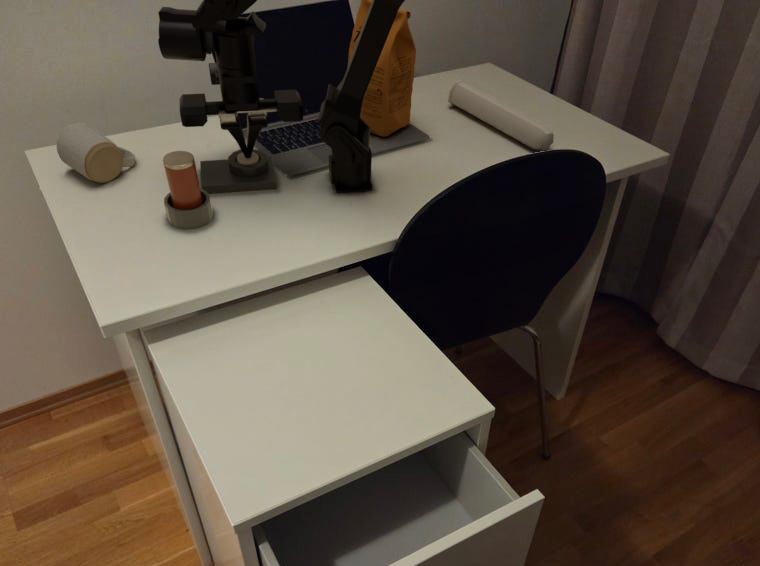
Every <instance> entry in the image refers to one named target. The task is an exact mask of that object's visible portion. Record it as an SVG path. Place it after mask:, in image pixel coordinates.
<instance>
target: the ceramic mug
mask: <svg viewBox="0 0 760 566" xmlns="http://www.w3.org/2000/svg"><path fill="white" fill-rule="evenodd" d="M56 153H57V155H58V157H59V159H60V160H61V161H62V162H63V163H64V164H65V165H66V166H68V167H70V168H71V169H73V170H74V171H75V172H77V173H79V174H81V175H82V176H84V177H85V178H86V179H87V180H90V181H92V182H95V183H100V184H101V183H102V184H104V183H109V182H111V181H113V180H114V179H116V178H117V177H118V176H119V175H120V173H121V172H122V170H123V168H131V167H134V166H135V164H136V155H135V154H134V153H133V152H131V151H130V150H128V149H126V148H123V147H120V146H117V144H116V143H114V141H112V140H111V139H110V138H108V137H107V136H105V135H104V134H103V133H102V132H100V130H97V129H96V128H95V127H94V126H92V125H90V124H88V123H84V122H74V123H70V124H68V125H67V126H65V127H64V128H63V129H62V130H61V131H60V133H59V134H58V137H57V140H56Z"/></svg>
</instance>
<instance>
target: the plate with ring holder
mask: <svg viewBox="0 0 760 566" xmlns="http://www.w3.org/2000/svg"><path fill="white" fill-rule="evenodd" d="M253 152H254V153H256V154H258V156H259V162H258V163H256V164H253V165H242V164H239V163H238V162H237V156H238V155H239V154H240V153H242V150H241V149H238V150H235V151H232V152H231V154H230V155H228V157H227V159H211V160H200V161H199V166H200V188H201V189H202V190H205V191H206V192H207V193H208V194H209V195H216V194H217V195H218V194H229V193H230V194H231V193H244V192H255V191H256V192H258V191H272V190H277V181H276V176H275V170H274V164H273V160H272V159H273V158H272V156H268V154H266V153H265V152H264V151H263V150H259V149H255V148H253Z"/></svg>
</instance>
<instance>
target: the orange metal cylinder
mask: <svg viewBox="0 0 760 566" xmlns="http://www.w3.org/2000/svg"><path fill="white" fill-rule="evenodd" d="M162 163H163V167H164V173H165V175H166V180H167V185H168V189H169V193H171V198H172V202H173V206H174V208H175V209H178V210H192V209H195V208H198V207H200V206H202V205H203V202H202V196H201V191H200V189H201V185H200V181H199V176H198V170H197V165H196V160H195V156H194V154H192V153H191V152H189V151H186V150H175V151H170V152H168V153H166V154H164V156H163V158H162Z"/></svg>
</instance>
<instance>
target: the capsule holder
mask: <svg viewBox="0 0 760 566" xmlns="http://www.w3.org/2000/svg"><path fill="white" fill-rule="evenodd" d="M200 191H201V196H202V202H203V205H202V206H200V207H198V208H195V209H192V210H178V209H175V208H174V206H173V202H172V198H171V193H170V192H168V193H167V194H166V195H165V197H164V198H163V206H164V209H165V214H166V217H167V221H168V222H169V223H170V225H172V226H173V227H174V228H177V229H181V230H194V229H199V228H203V227H204V226H206V225H208V224H209V223H210V222H211V221H212V219H213V217H214V213H213V212H214V211H213V207H212V200H211V194H208V193H207V192H206V191H205V190H202V188H200Z"/></svg>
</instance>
